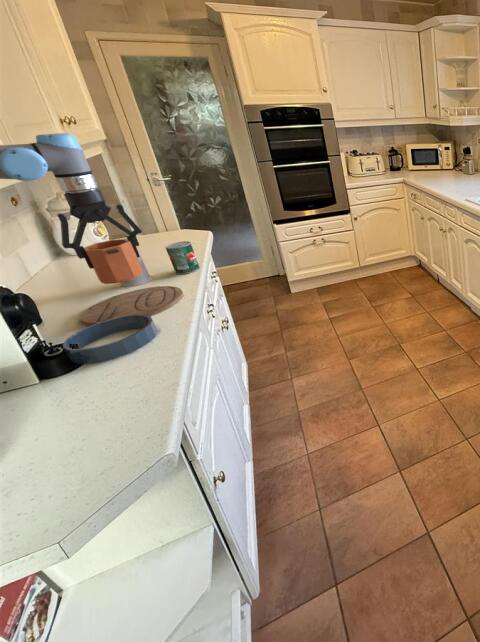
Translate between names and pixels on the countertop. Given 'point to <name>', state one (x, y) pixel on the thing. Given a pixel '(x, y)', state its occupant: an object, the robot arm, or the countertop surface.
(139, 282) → the glass holder
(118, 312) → the trivet
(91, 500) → the countertop surface
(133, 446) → the countertop surface
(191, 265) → the canned tomato
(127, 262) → the small pot
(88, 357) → the blue ring
